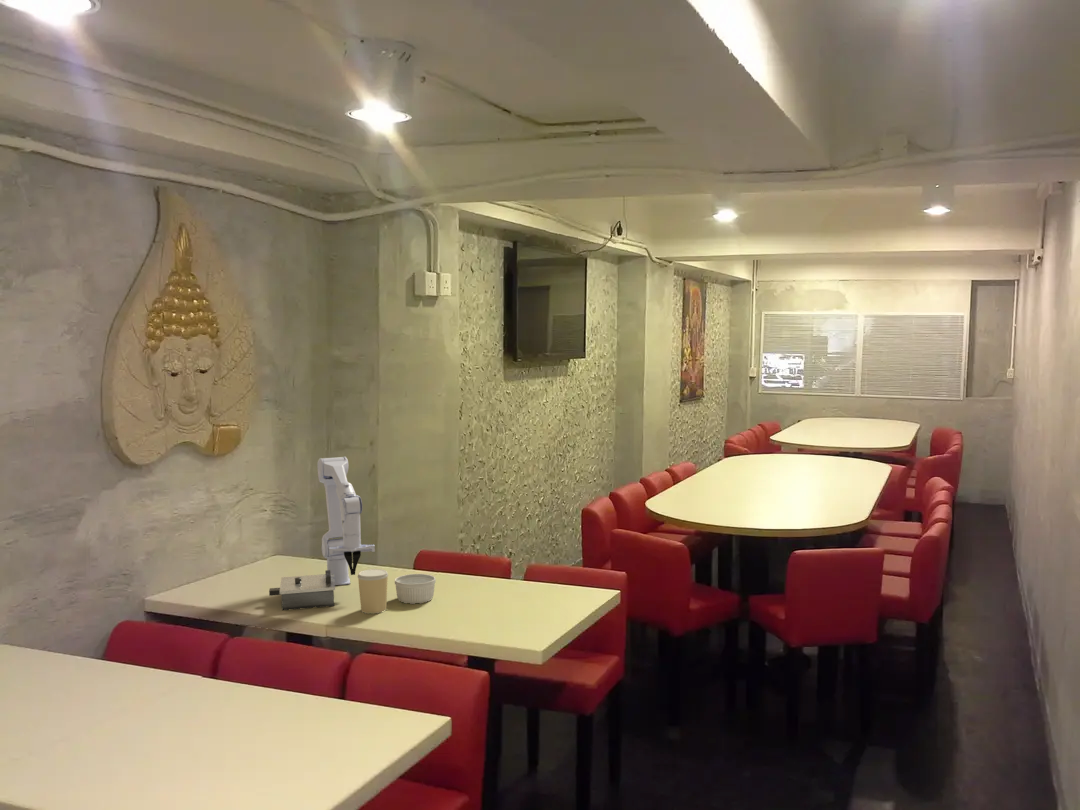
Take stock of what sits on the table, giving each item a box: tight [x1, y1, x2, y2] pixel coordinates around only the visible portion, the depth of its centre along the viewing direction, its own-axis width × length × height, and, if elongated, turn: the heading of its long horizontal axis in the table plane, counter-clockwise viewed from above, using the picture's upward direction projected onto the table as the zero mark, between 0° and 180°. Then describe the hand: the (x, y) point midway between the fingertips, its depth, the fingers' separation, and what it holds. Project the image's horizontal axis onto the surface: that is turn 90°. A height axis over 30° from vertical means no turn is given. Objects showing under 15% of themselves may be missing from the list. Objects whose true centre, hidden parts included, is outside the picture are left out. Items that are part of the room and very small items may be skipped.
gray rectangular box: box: [268, 587, 335, 611], centre depth 284 cm, size 16×20×5 cm
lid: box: [279, 569, 336, 594], centre depth 284 cm, size 17×17×3 cm
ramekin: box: [394, 573, 437, 605], centre depth 285 cm, size 13×13×7 cm
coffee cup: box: [357, 568, 389, 614], centre depth 274 cm, size 9×9×12 cm
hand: (352, 574), depth 288 cm, fingers closed
